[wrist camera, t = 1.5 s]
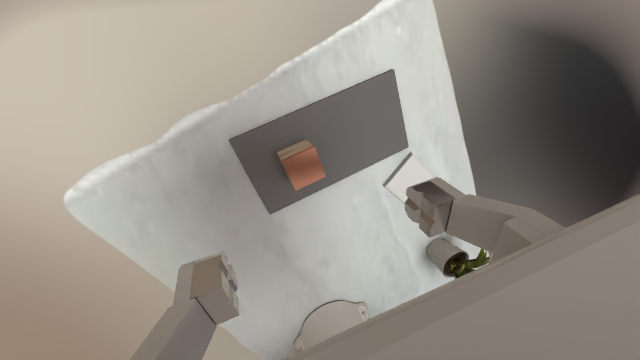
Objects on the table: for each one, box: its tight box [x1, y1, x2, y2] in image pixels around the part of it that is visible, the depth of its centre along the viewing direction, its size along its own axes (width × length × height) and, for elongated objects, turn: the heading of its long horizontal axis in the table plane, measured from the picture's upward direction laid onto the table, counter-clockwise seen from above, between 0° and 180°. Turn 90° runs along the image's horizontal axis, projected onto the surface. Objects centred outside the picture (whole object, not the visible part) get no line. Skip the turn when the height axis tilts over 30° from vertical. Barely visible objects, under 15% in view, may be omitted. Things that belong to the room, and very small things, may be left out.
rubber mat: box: [229, 69, 408, 214], centre depth 41 cm, size 14×28×1 cm, turn 111°
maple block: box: [277, 139, 326, 191], centre depth 37 cm, size 5×5×5 cm
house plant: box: [427, 238, 490, 279], centre depth 53 cm, size 14×14×16 cm
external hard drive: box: [383, 152, 435, 204], centre depth 50 cm, size 2×8×12 cm
